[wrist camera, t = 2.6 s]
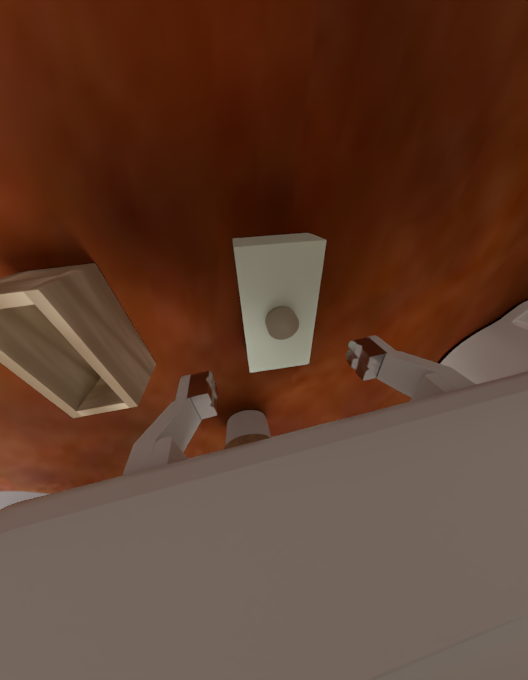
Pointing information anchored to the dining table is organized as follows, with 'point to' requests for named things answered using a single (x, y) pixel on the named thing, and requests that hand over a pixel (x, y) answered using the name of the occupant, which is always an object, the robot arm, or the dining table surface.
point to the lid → (279, 296)
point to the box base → (72, 340)
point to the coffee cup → (246, 428)
